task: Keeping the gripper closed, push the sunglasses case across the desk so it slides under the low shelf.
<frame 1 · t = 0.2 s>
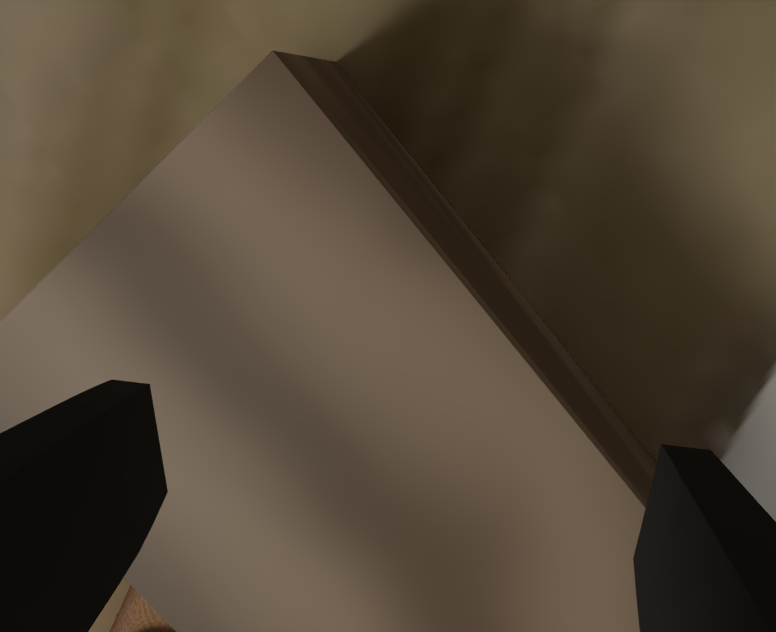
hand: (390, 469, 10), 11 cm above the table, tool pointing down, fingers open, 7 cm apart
low shelf: (451, 508, 22), on the table
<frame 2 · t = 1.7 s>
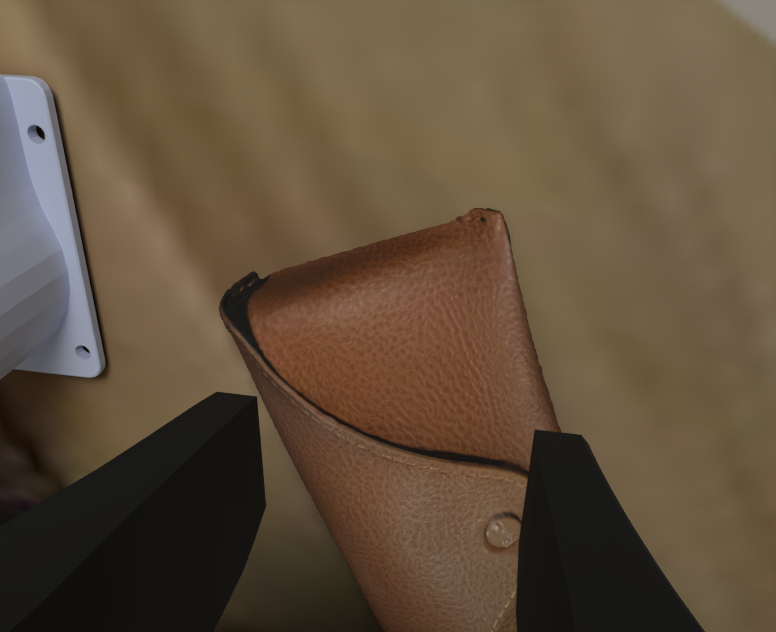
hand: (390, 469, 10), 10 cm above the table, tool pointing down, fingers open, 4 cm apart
sunglasses case: (461, 464, 23), on the table
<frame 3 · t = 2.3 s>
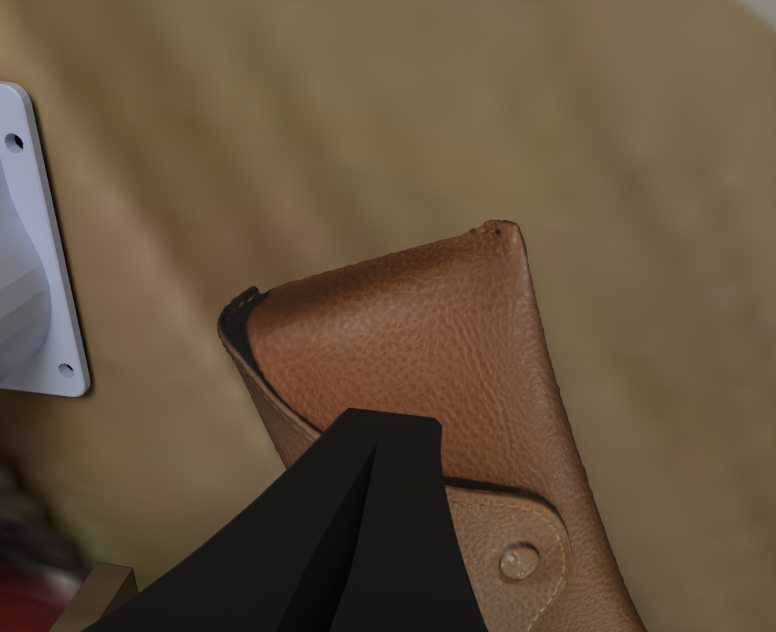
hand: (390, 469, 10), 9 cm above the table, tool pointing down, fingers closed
sunglasses case: (472, 486, 22), on the table
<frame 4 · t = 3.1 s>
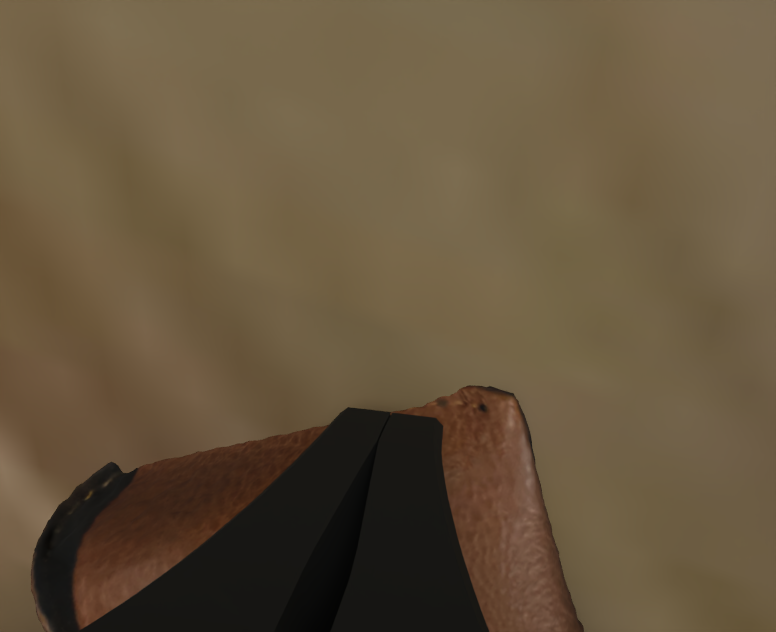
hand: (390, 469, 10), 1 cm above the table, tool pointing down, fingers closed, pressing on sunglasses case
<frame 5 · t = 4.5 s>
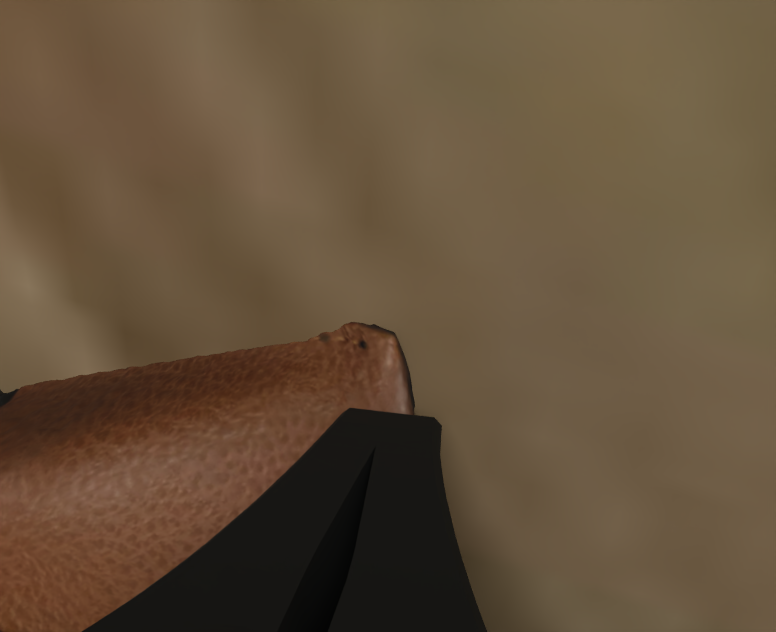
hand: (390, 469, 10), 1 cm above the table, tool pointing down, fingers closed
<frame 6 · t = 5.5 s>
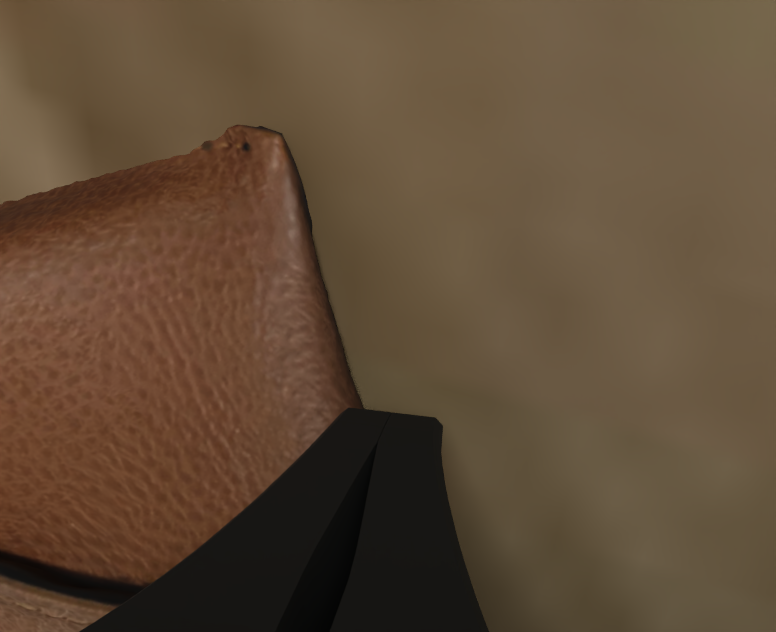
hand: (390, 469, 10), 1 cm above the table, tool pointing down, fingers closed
sunglasses case: (267, 569, 14), on the table, touching gripper
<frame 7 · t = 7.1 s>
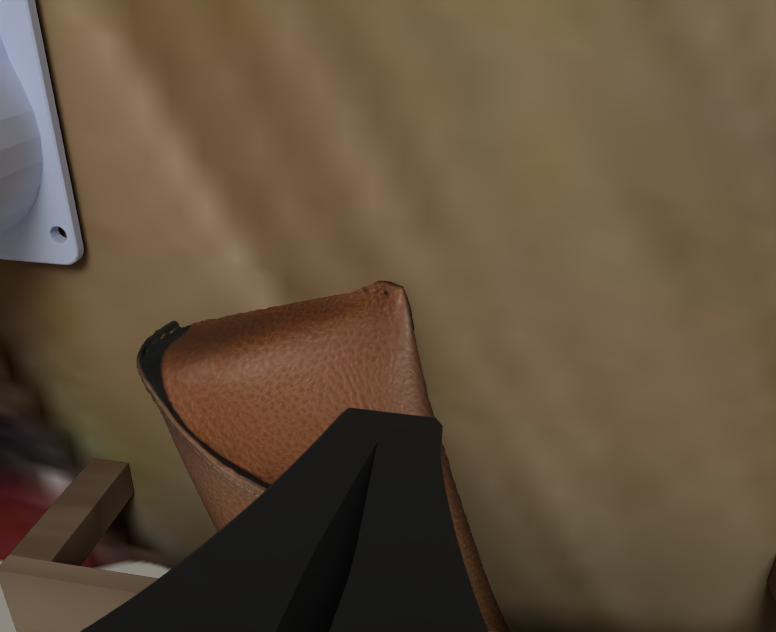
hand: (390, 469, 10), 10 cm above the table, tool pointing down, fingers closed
low shelf: (424, 624, 26), on the table
sunglasses case: (368, 505, 25), on the table
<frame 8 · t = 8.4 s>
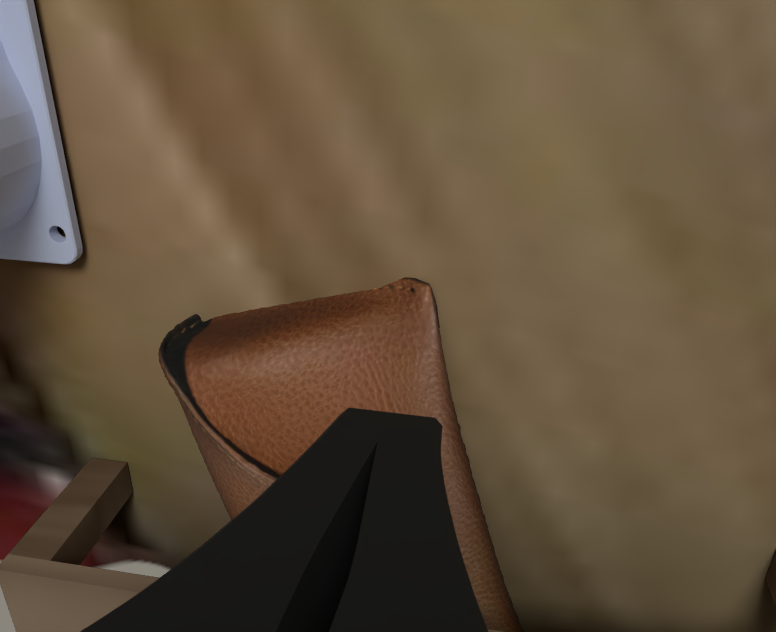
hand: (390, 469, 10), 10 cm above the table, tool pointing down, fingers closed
low shelf: (423, 622, 26), on the table
sunglasses case: (384, 503, 25), on the table
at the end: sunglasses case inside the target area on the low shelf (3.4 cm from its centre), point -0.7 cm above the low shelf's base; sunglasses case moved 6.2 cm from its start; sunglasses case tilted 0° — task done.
